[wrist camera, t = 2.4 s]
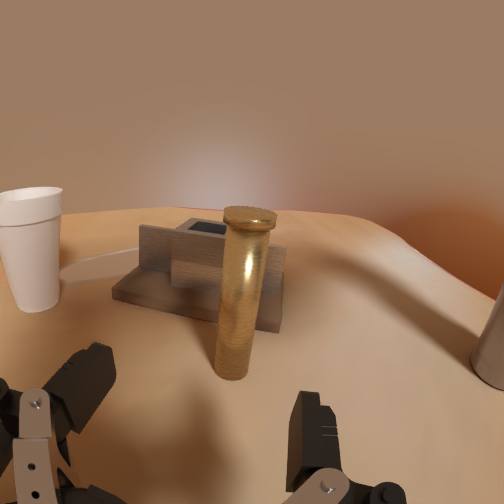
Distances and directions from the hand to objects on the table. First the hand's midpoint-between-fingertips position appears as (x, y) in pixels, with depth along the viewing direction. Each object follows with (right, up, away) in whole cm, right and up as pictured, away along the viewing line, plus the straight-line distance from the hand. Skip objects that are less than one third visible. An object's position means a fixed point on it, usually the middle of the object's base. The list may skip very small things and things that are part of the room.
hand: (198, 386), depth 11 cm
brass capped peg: (0, -5, +14) cm, 14 cm away
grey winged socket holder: (-4, +2, +27) cm, 27 cm away
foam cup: (-24, -1, +17) cm, 30 cm away
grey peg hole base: (-4, 0, +27) cm, 27 cm away
